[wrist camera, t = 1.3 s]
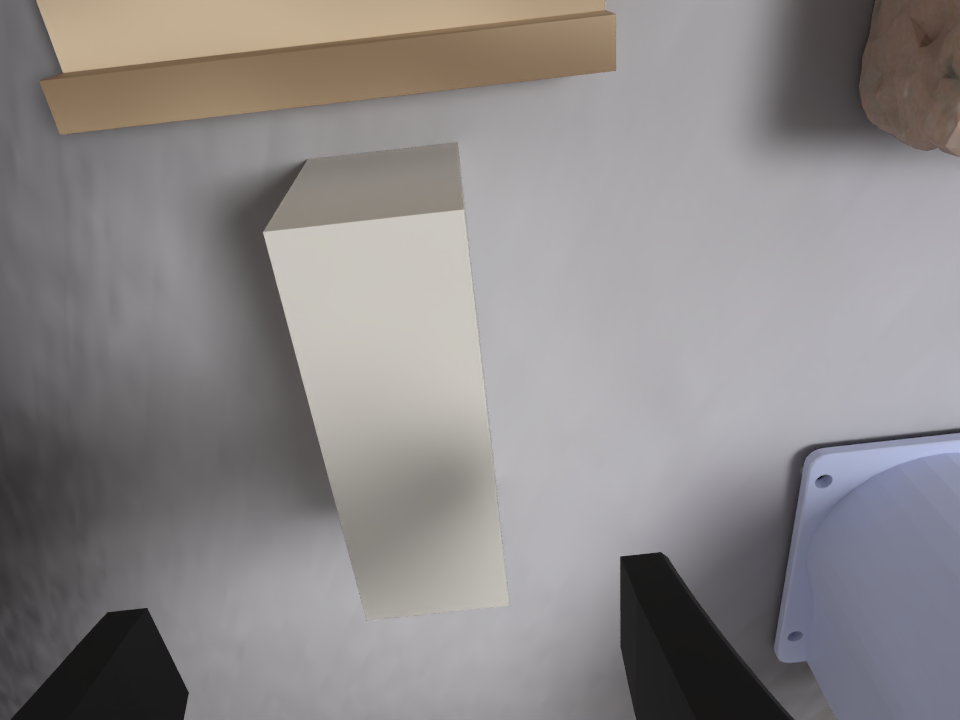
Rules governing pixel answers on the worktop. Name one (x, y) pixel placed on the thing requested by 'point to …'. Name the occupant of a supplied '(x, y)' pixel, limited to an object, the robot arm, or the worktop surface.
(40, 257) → the worktop surface
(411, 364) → the white rectangular block
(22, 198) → the worktop surface
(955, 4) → the brick
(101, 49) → the wooden base plate
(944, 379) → the worktop surface
